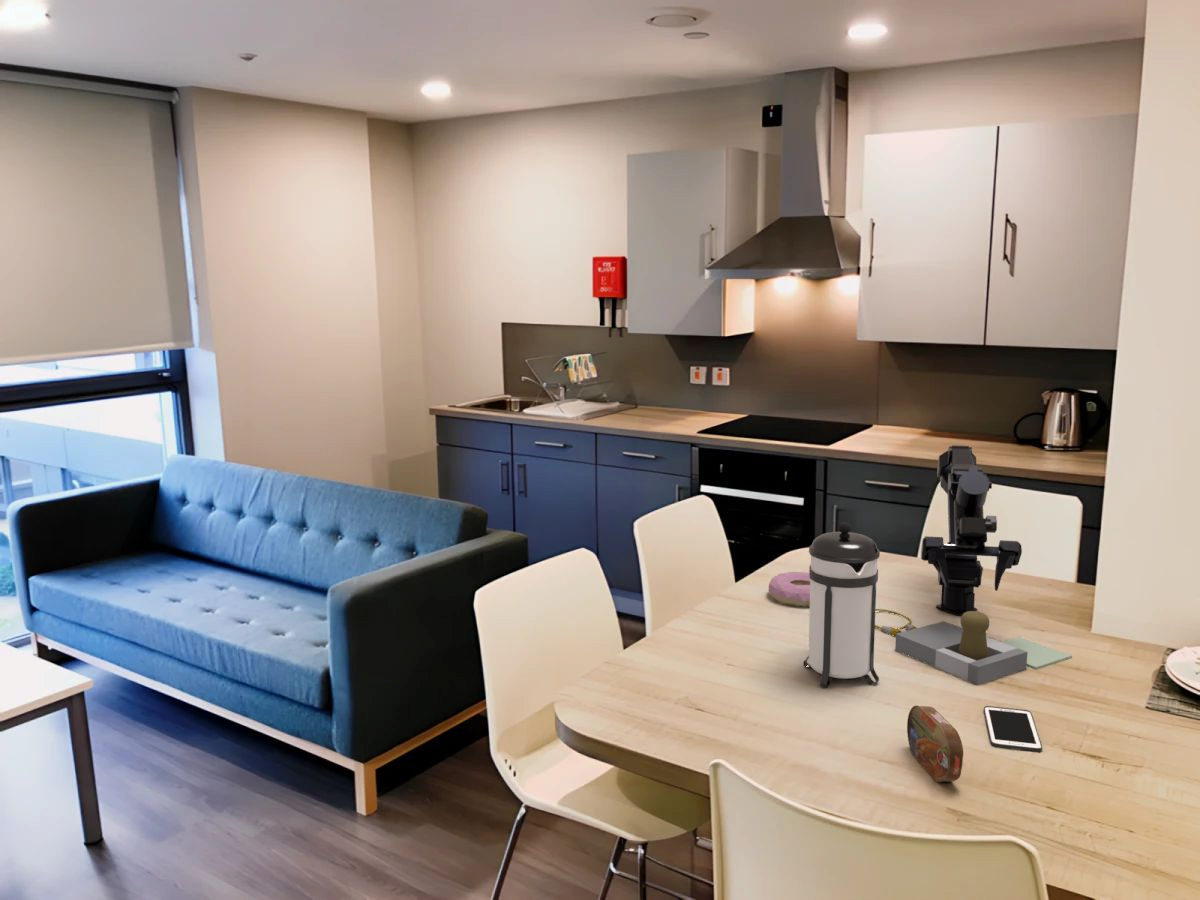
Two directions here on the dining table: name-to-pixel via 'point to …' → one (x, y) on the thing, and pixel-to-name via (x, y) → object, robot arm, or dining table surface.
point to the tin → (935, 743)
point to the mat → (1038, 653)
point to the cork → (974, 635)
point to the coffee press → (842, 605)
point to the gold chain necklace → (893, 630)
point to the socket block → (942, 652)
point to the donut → (791, 588)
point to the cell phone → (1012, 729)
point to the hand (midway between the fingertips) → (971, 588)
